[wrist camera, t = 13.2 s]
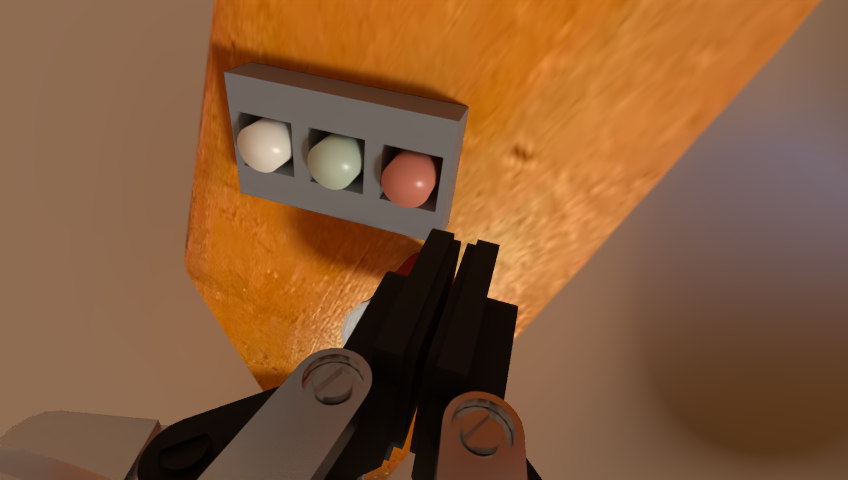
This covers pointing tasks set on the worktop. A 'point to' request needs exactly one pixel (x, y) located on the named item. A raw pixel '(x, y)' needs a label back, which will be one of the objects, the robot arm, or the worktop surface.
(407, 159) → the brick button
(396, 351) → the robot arm
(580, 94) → the worktop surface
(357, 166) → the sage button
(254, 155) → the ivory button
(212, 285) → the worktop surface
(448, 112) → the panel
